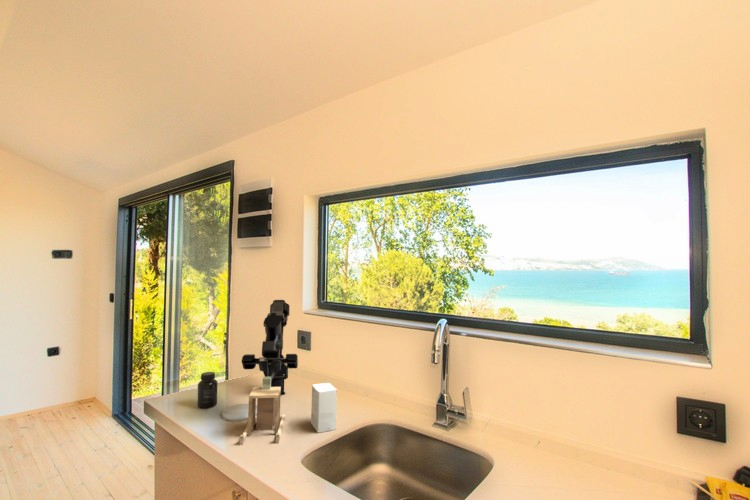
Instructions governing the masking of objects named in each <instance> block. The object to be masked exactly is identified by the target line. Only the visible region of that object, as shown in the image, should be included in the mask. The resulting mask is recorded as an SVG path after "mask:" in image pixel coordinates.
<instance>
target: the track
mask: <svg viewBox="0 0 750 500" xmlns="http://www.w3.org/2000/svg"><path fill="white" fill-rule="evenodd" d="M285 418H286V414H282V415H280V424H279V428H278V429H277V433H276V434H275V444H280V443H279V442H280V440H281V439H280V438H281V436H282V431H283V427H284V423H285V420H286V419H285ZM255 421H257V416H255ZM246 424H247V425H246V427H245V429H244V431H243V433H242V434H240V435H239V446H242V445H244V443H245V441H246V438H247V436H248V423H246Z"/></svg>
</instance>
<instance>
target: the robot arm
mask: <svg viewBox="0 0 750 500" xmlns="http://www.w3.org/2000/svg"><path fill="white" fill-rule="evenodd" d="M289 316H290V304H289V303H288V302H286V300H285V299H274V300H273V301H272V303H271V304H269V313H267V315H266V317H264V320H263V324H262V325H263V328H264V332H265V340H263V341H262V342H261V343H262V347H261V356H259V357H258V358H256V355H255V354H251V353H249V354H243V355H242V357H241V364H242V369H244V370H254V369H255V368H256V365H258V368H259V371H260V372H263V375H264V376H263V377H271V387H281V396H282V395H286V392H285V380H287V379H288V378H289V370H291V369H298V364H299V360H298V354H297V353H286V355H285V357H284V355H283V349H284V329H285V328H286V326H287V324H288V318H289Z"/></svg>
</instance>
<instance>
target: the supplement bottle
mask: <svg viewBox="0 0 750 500" xmlns="http://www.w3.org/2000/svg"><path fill="white" fill-rule="evenodd" d="M215 378H216V373H215V372H214V371H206V372H202V373H201V374H200V381H198V383H197V400H196V402H197V403H196V404H197V408H198V409H202V410H206V409H211V408H213V407H214V408H215V406H217V404H218V388H219V387H218V383H219V382H218V380H217V379H215Z"/></svg>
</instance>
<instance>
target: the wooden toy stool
mask: <svg viewBox="0 0 750 500" xmlns="http://www.w3.org/2000/svg"><path fill="white" fill-rule="evenodd" d="M281 396H282V395H281V387H271V377H265V376H263V378H262V385H261V386H259V387H258V386H256V387H253V388H252V390H251V392H250V393H249V395H248V404H249V411H248V419H247V424H248V434H247V436H251V435H252V431H253V430H254V426H255V425H256V420H255V417H256V416H255V412H256V406H257V398H275V420H274V426H273V429H274V430H273V433H274V434H273V435H276V433H278V429H279V425H280V422H281V419H280V416H281Z"/></svg>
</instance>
